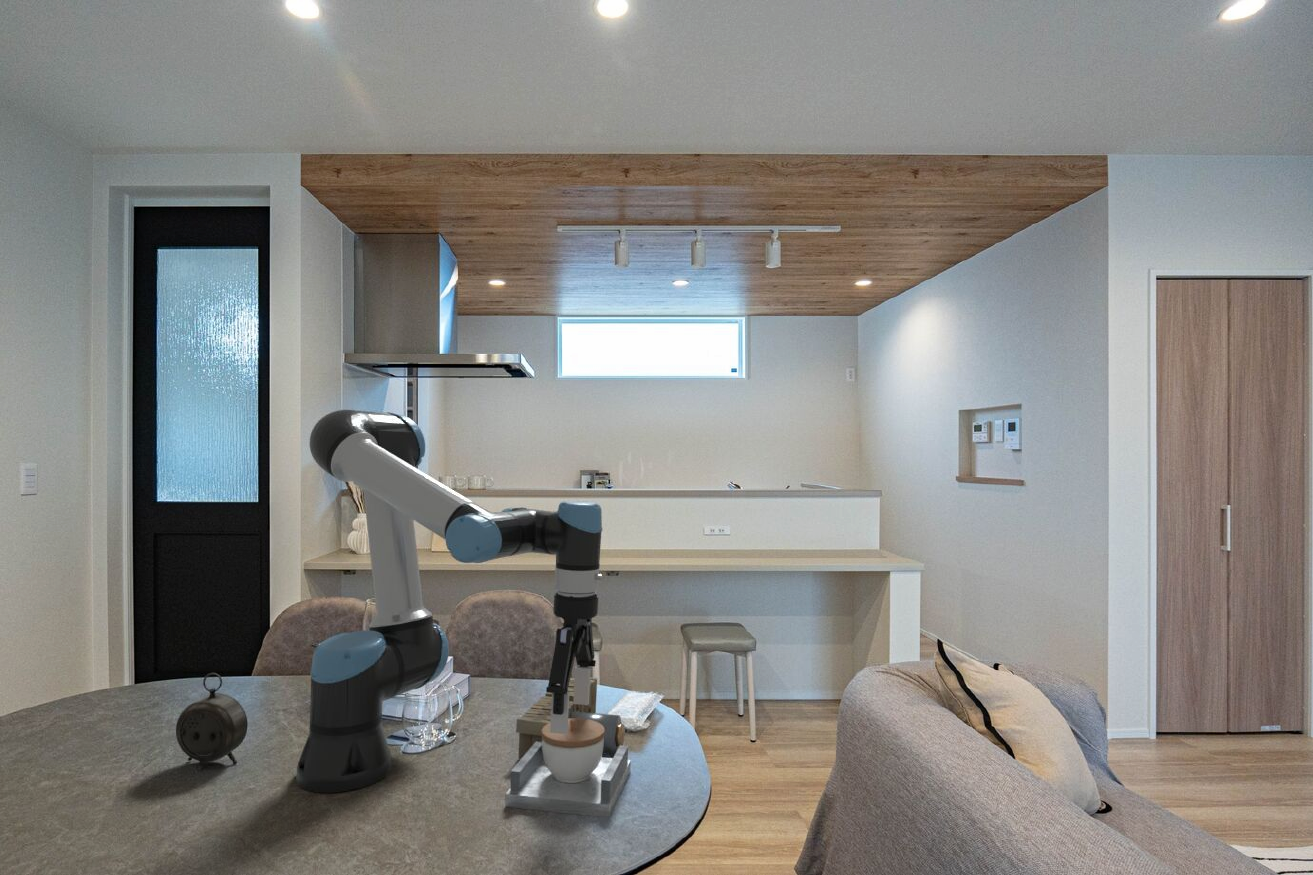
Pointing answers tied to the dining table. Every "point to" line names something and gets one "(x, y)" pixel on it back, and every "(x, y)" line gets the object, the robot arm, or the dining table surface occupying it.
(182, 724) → the alarm clock
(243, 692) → the dining table surface
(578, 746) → the lidded jar
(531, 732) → the block tower
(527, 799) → the motor cradle
